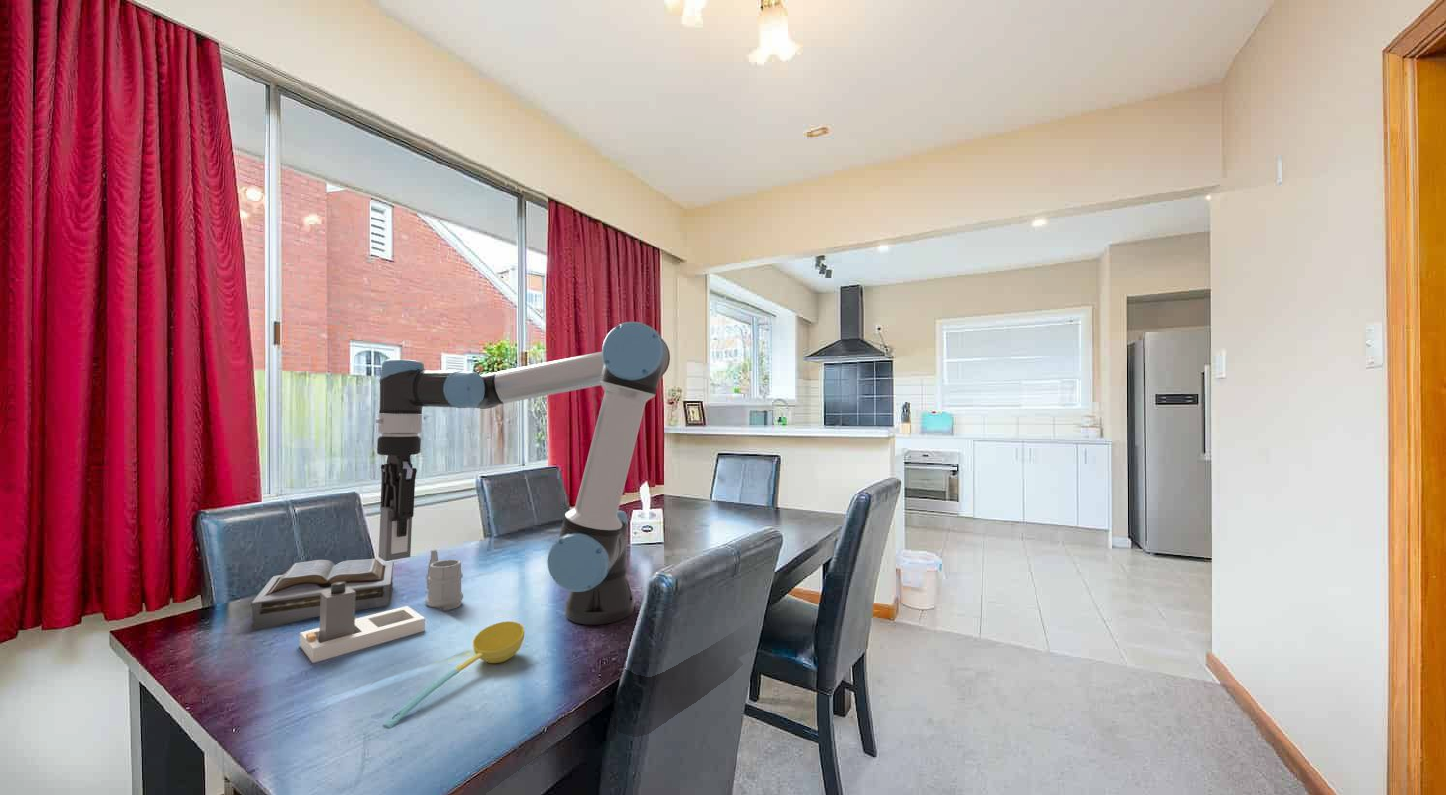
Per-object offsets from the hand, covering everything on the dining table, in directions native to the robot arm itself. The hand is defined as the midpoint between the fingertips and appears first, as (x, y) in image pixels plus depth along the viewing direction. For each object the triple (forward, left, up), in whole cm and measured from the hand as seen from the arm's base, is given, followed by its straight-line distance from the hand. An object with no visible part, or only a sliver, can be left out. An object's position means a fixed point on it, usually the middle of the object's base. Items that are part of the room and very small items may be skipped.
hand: (394, 549), depth 104 cm
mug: (+11, -13, -17) cm, 24 cm away
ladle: (-29, -1, -18) cm, 34 cm away
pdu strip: (0, +5, -17) cm, 18 cm away
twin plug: (0, +9, -16) cm, 19 cm away
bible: (+28, +4, -18) cm, 34 cm away
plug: (0, 0, -1) cm, 1 cm away
